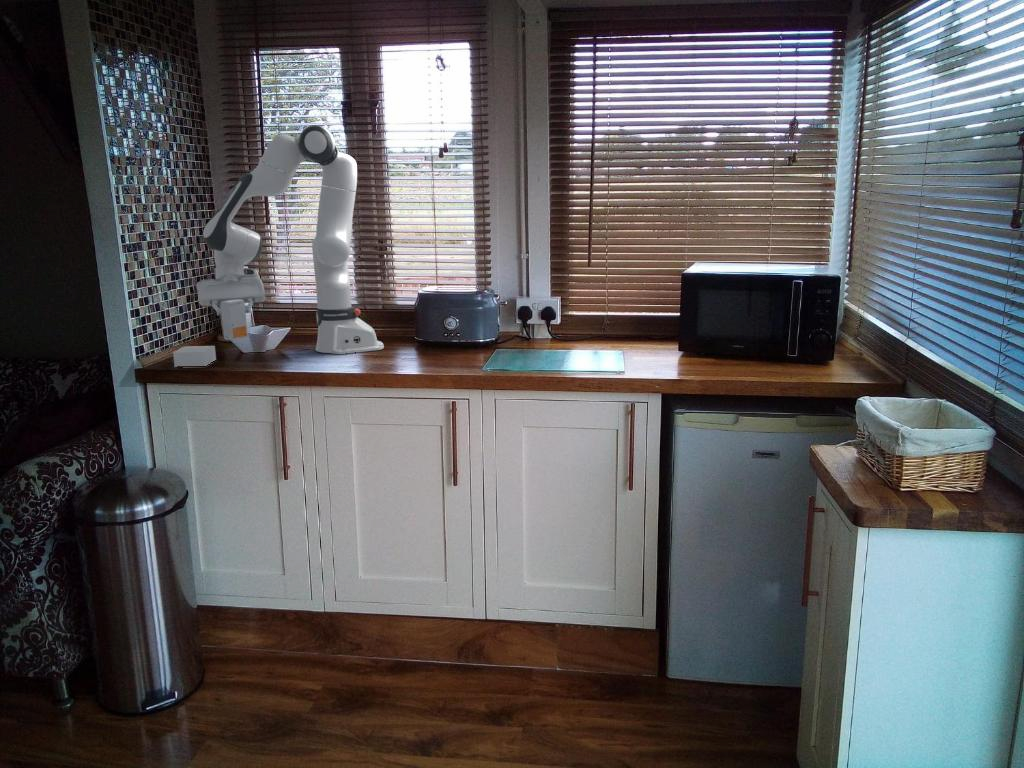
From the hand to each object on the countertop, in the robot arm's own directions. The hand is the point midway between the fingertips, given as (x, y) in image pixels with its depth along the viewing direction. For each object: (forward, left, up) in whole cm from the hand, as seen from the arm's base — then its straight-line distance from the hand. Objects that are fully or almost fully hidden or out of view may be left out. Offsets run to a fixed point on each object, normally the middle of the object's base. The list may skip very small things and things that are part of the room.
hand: (233, 312), depth 260 cm
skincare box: (0, 0, -8) cm, 8 cm away
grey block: (+13, 0, -16) cm, 20 cm away
